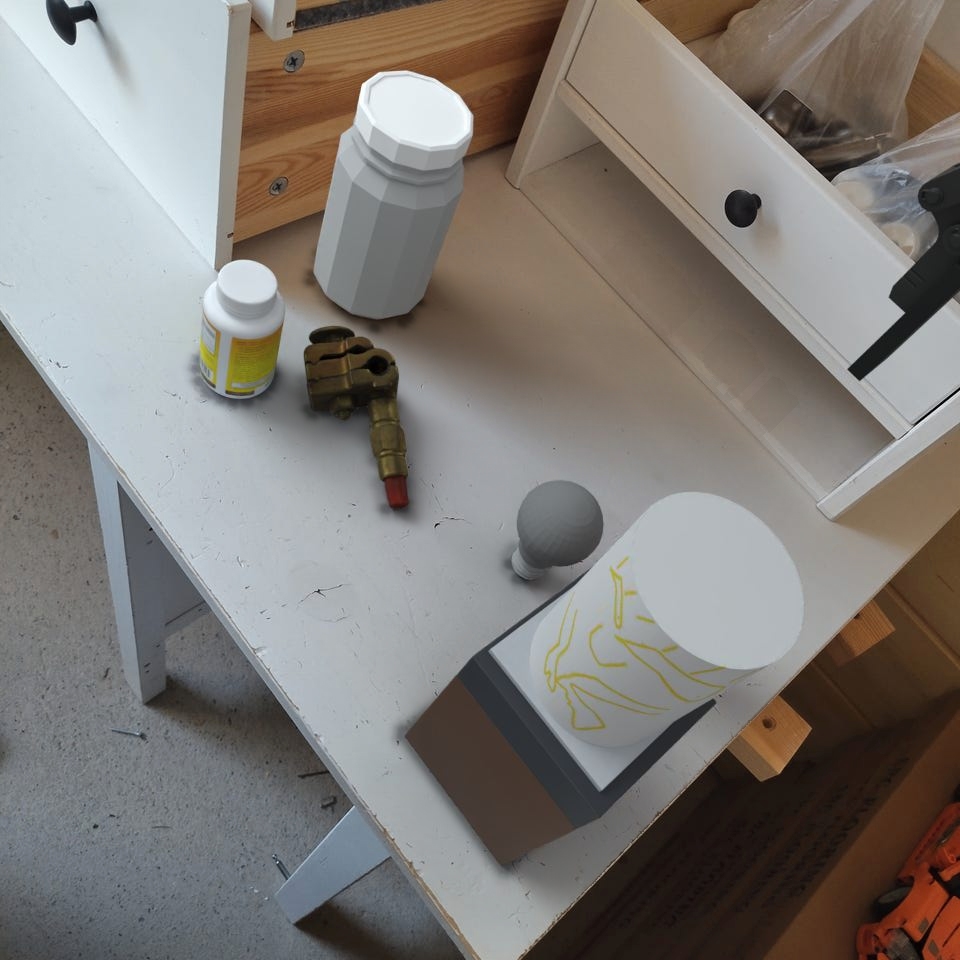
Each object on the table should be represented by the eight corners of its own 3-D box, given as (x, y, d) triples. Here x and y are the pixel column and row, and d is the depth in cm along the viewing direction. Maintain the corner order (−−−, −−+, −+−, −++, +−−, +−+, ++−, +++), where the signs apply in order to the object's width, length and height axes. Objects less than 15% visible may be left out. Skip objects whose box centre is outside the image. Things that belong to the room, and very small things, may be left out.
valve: (344, 531, 68) (339, 517, 63) (297, 355, 71) (289, 328, 66) (432, 508, 69) (434, 492, 64) (382, 335, 72) (380, 307, 67)
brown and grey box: (604, 768, 61) (721, 700, 49) (500, 866, 56) (602, 817, 43) (512, 652, 63) (601, 559, 51) (404, 735, 58) (473, 653, 46)
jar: (432, 328, 77) (499, 162, 62) (320, 326, 73) (362, 150, 59) (410, 243, 81) (467, 70, 67) (302, 238, 78) (338, 53, 63)
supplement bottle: (287, 367, 70) (305, 278, 62) (248, 414, 67) (262, 326, 59) (225, 332, 70) (235, 237, 62) (183, 377, 67) (187, 284, 58)
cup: (498, 654, 46) (592, 552, 36) (598, 572, 50) (705, 462, 41) (605, 781, 44) (734, 709, 35) (698, 685, 49) (836, 597, 39)
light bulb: (473, 545, 67) (518, 477, 59) (537, 521, 70) (588, 453, 62) (512, 614, 65) (563, 554, 57) (576, 586, 68) (634, 526, 60)
